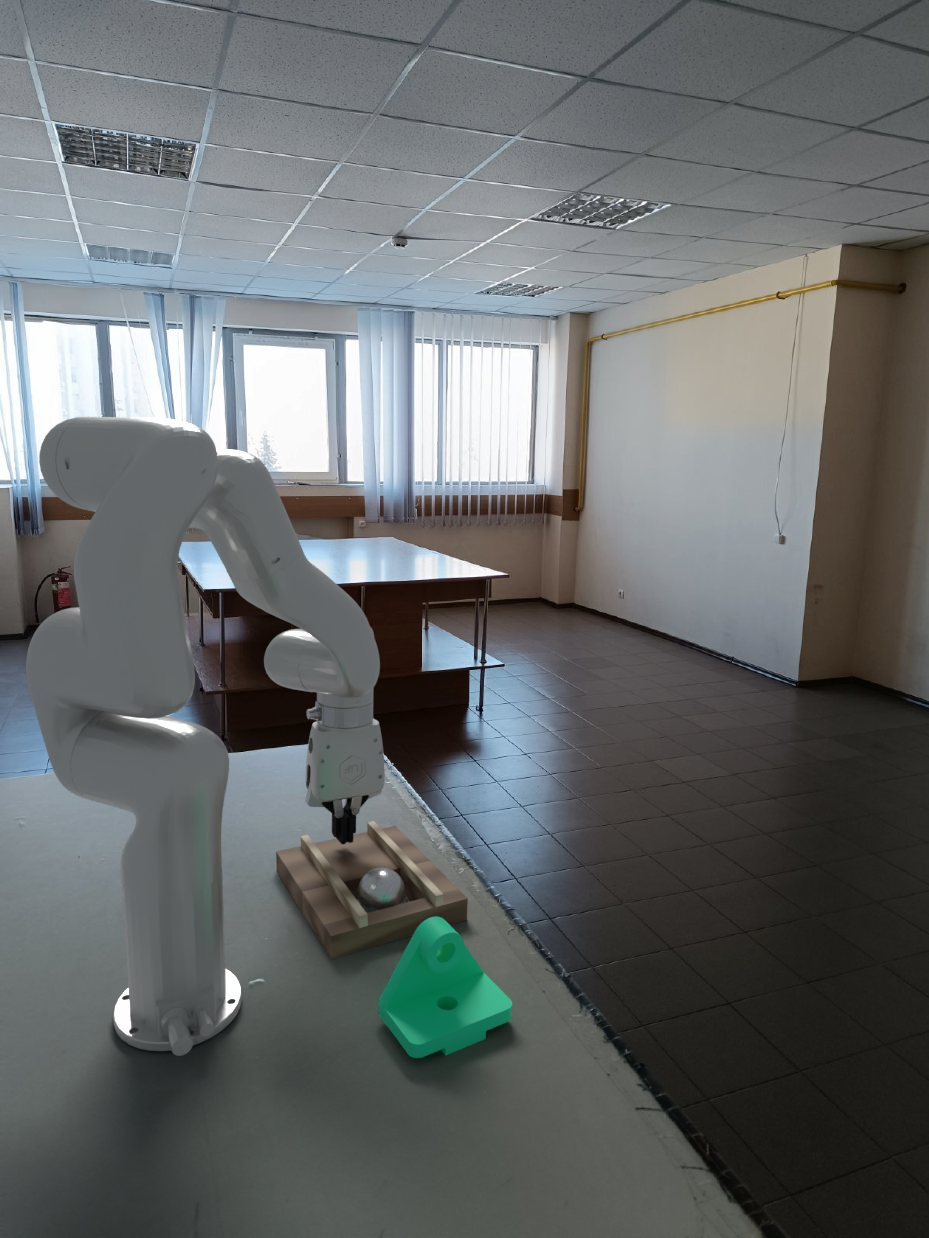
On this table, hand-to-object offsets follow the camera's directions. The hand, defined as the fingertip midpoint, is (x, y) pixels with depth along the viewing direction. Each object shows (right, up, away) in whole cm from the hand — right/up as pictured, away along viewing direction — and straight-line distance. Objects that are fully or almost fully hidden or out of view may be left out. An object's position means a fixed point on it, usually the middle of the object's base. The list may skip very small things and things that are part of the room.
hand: (343, 839), depth 113 cm
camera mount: (+15, -12, -29) cm, 34 cm away
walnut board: (+4, -6, -5) cm, 9 cm away
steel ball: (+6, -4, -10) cm, 13 cm away
